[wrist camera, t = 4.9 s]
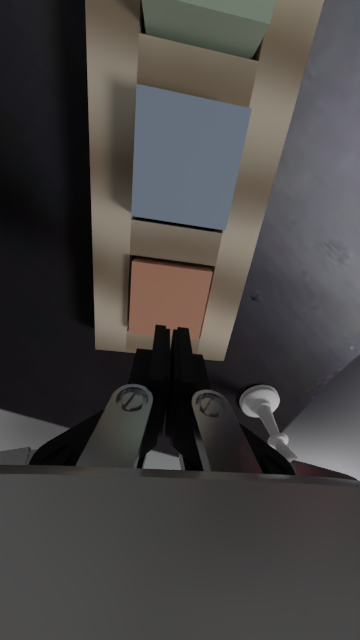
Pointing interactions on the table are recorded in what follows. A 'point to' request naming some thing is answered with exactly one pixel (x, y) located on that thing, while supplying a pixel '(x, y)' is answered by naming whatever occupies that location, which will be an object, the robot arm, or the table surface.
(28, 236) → the table surface
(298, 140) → the table surface
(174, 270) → the terracotta button
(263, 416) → the chess piece
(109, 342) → the button panel
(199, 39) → the sage button
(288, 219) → the table surface
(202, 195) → the slate button
